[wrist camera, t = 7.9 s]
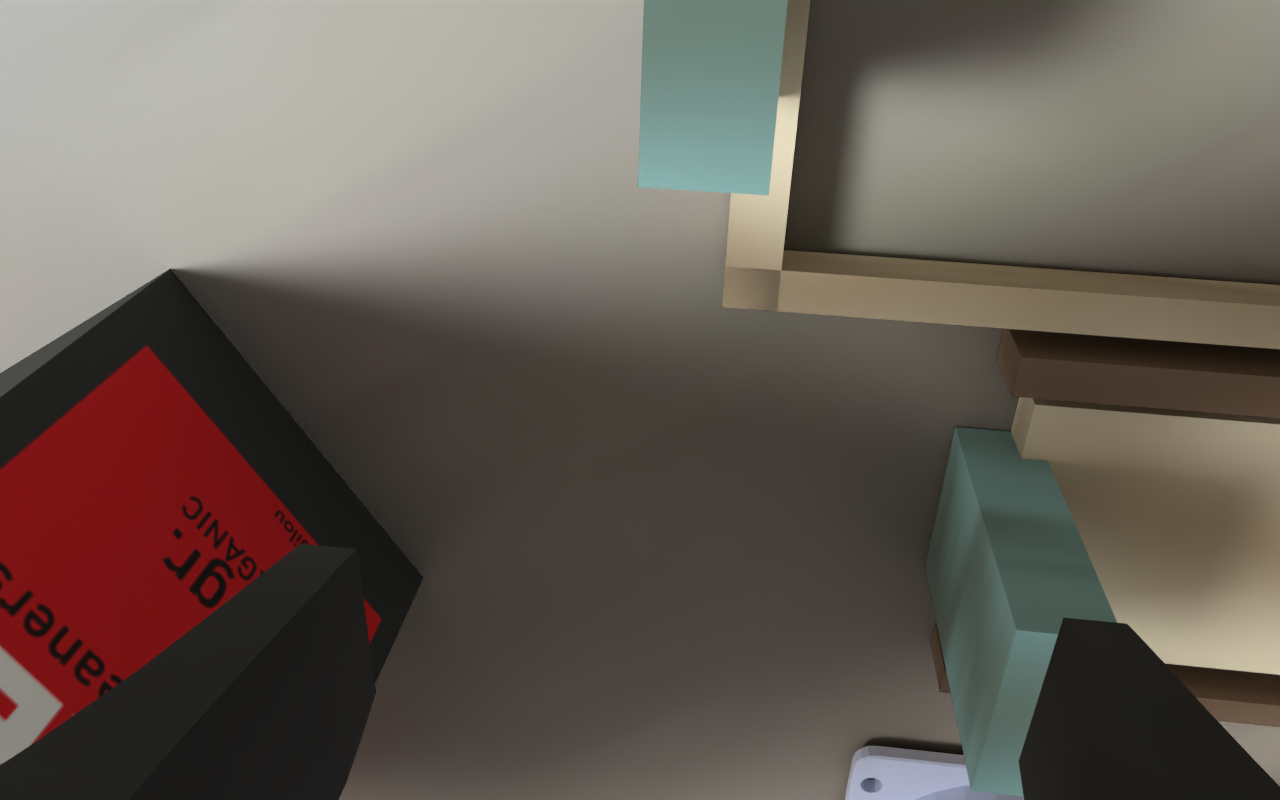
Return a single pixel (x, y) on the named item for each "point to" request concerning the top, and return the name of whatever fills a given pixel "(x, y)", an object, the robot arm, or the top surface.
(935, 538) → the lane frame
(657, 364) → the top surface
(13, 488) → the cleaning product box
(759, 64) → the frame
